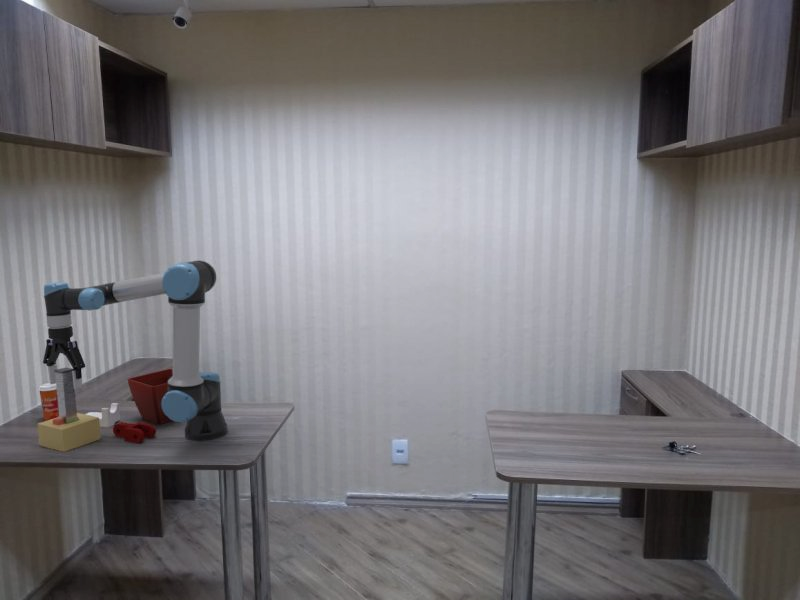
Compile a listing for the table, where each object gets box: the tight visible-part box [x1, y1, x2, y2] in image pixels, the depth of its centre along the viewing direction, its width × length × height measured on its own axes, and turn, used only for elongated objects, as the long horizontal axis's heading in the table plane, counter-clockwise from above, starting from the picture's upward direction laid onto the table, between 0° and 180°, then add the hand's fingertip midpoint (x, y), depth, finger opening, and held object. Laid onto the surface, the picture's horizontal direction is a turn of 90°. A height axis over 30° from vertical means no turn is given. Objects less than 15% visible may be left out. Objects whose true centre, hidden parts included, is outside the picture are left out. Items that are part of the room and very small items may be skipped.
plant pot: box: [127, 368, 173, 425], centre depth 241 cm, size 19×19×17 cm
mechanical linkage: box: [112, 421, 157, 444], centre depth 220 cm, size 16×7×5 cm, turn 67°
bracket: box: [85, 402, 121, 428], centre depth 235 cm, size 13×7×8 cm, turn 81°
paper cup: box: [38, 382, 59, 421], centre depth 241 cm, size 8×8×14 cm
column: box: [54, 367, 79, 424], centre depth 214 cm, size 5×5×21 cm
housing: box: [37, 412, 102, 453], centre depth 216 cm, size 14×14×10 cm
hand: (66, 385), depth 213 cm, fingers open, 13 cm apart
